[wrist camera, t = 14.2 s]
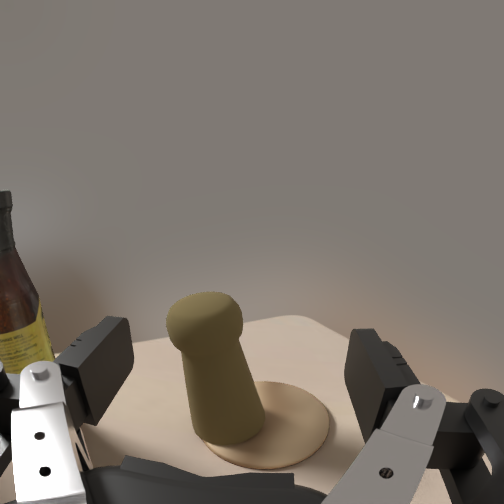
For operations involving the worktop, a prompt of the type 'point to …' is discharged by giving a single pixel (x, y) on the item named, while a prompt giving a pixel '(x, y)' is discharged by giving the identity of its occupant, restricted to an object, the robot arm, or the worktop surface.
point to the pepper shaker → (215, 368)
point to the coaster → (280, 429)
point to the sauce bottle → (18, 304)
